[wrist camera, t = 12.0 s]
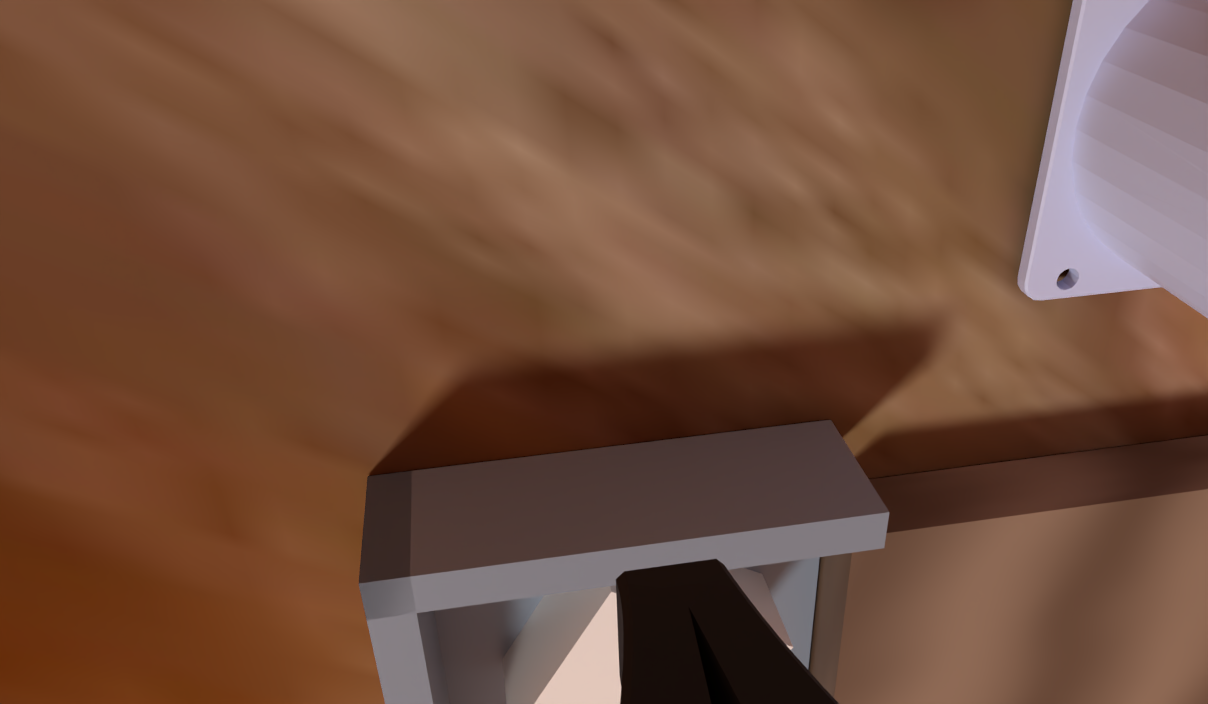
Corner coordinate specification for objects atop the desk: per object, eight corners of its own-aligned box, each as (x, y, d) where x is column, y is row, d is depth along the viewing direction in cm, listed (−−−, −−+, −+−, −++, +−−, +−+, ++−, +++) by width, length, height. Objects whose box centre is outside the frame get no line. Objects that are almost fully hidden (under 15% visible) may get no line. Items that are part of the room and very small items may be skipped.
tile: (762, 574, 25) (793, 647, 23) (664, 701, 27) (685, 779, 25) (594, 518, 23) (611, 591, 21) (502, 658, 25) (509, 739, 23)
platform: (1325, 419, 26) (1388, 464, 25) (1202, 719, 32) (1245, 771, 31) (824, 485, 25) (853, 537, 23) (794, 787, 31) (815, 846, 29)
